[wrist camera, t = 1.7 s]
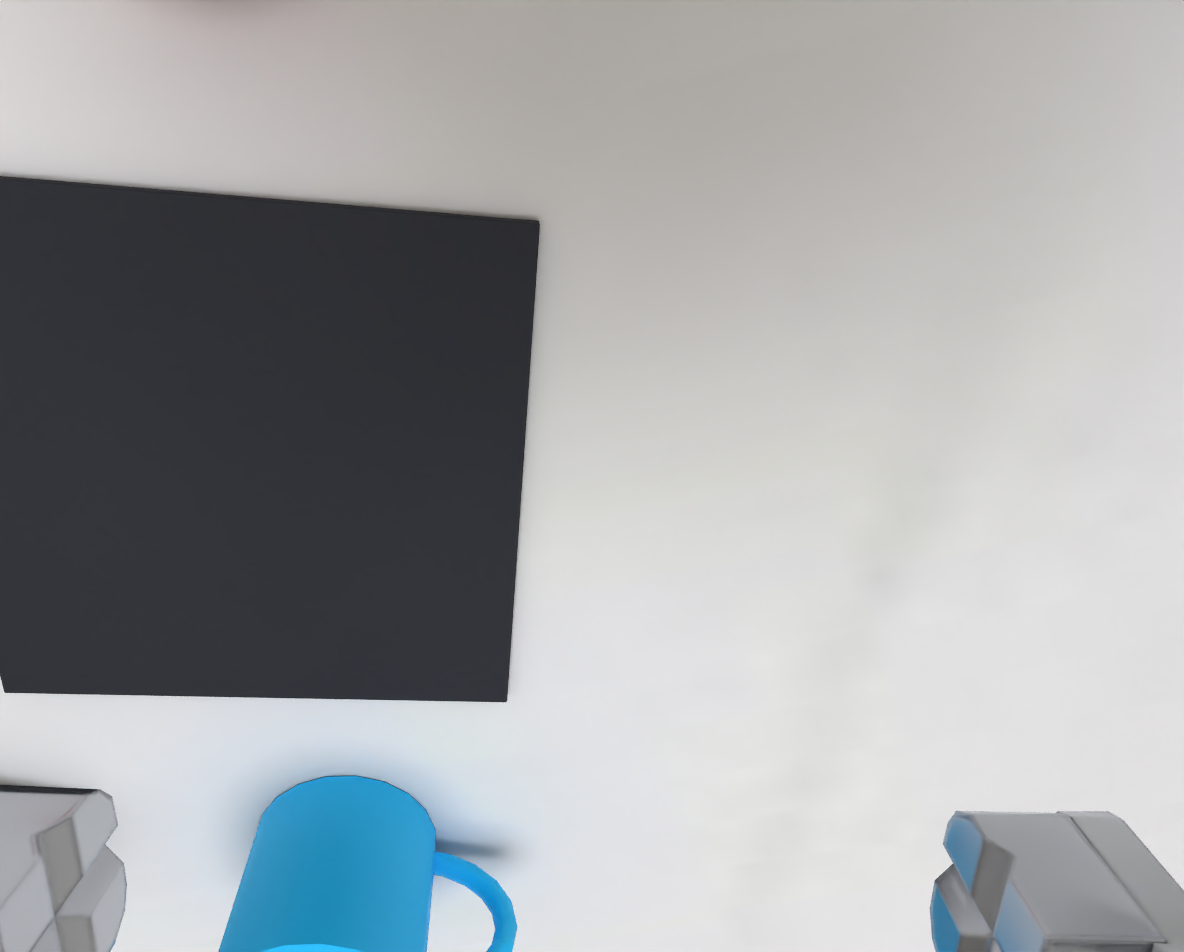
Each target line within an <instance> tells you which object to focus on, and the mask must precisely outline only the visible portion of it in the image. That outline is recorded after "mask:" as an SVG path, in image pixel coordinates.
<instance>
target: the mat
mask: <svg viewBox="0 0 1184 952" xmlns="http://www.w3.org/2000/svg"><path fill="white" fill-rule="evenodd" d="M539 228H540V224H539V221H532V220H520V219H508V218H496V217H484V216H472V215H460V214H448V213H435V212H423V211H411V210H399V209H387V208H375V207H363V206H351V205H339V204H327V203H315V202H303V201H291V200H279V199H267V198H255V197H243V196H231V195H219V194H207V193H195V192H183V191H171V190H159V189H147V188H135V187H123V186H111V185H99V184H87V183H75V182H63V181H51V180H39V179H27V178H15V177H3V176H0V676H1V680H2V684H3V688H4V692H5V693H48V694H101V695H154V696H207V697H260V698H313V699H366V700H418V701H471V702H506V701H507V693H508V678H509V664H510V649H511V635H512V620H513V605H514V591H515V576H516V562H517V547H518V533H519V518H520V504H521V489H522V475H523V460H524V446H525V431H526V417H527V402H528V388H529V373H530V359H531V344H532V330H533V315H534V301H535V286H536V272H537V257H538V243H539Z"/></svg>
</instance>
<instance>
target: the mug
mask: <svg viewBox="0 0 1184 952" xmlns="http://www.w3.org/2000/svg"><path fill="white" fill-rule="evenodd" d="M433 875H439V876H443V877H446V878H448V879H450V880H453V881H455V882H457V883H460V884H462V885H465V886H466V887H467V888H469V889H470V890H471V891H473V892H474V893H475V894H476V895H478V896H479V897H480V898H482V900H483V901H484V903H485V904H486V906H487V907H488V909H489V910H490V912H491V913H492V916H493V921H494V925H495V933H494V937H493V941H492V945H491V946H490V947H489V949H488V950H487V951H486V952H512V949H513V945H514V940H515V936H516V931H517V924H516V919H515V915H514V910H513V906H512V902H511V900H510V899H509V898H508V896H507V895H506V893H505V892H504V890H503V889H502V888H501V886H500V885H499V883H498V882H497V881H496V880H495V879H494V878H492V877H491V876H490V875H488V874H487V873H486V872H484V871H483V870H482V869H480V868H479V867H478V866H476V865H475V864H472V863H470V862H467V861H465V860H463V859H460V858H458V857H455V856H453V855H451V854H447V853H441V852H436V840H435V827H434V825H433V823H432V822H431V820H430V818H429V816H428V814H427V812H426V810H425V809H424V808H423V807H422V806H421V805H420V804H419V803H418V802H417V801H416V800H414V799H413V798H412V797H411V796H410V795H409V794H408V793H406V792H404V791H402V790H400V789H398V788H396V787H393V786H391V785H389V784H387V783H385V782H382V781H378V780H373V779H368V778H363V777H358V776H335V777H323V778H320V779H316V780H312V781H309V782H305V783H301V784H298V785H297V786H295V787H293V788H291V789H290V790H288V791H286V792H285V793H283V794H281V795H280V796H278V797H277V798H276V799H275V800H274V801H273V802H272V804H271V805H270V806H269V807H268V808H267V809H266V811H265V812H264V813H263V814H262V817H261V820H260V823H259V826H258V829H257V832H256V835H255V839H254V842H253V845H252V848H251V851H250V854H249V857H248V861H247V864H246V867H245V870H244V873H243V876H242V879H241V883H240V886H239V889H238V892H237V895H236V898H235V901H234V905H233V908H232V911H231V914H230V917H229V920H228V923H227V927H226V930H225V933H224V936H223V939H222V942H221V945H220V949H219V952H426V951H427V940H428V929H429V918H430V907H431V896H432V885H433Z"/></svg>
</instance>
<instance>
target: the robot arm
mask: <svg viewBox="0 0 1184 952" xmlns="http://www.w3.org/2000/svg"><path fill="white" fill-rule="evenodd" d="M117 826H118V824H117V819H116V814H115V809H114V804H113V799H112V796H110V795H109V794H107V793H105V792H104V791H102V790H98V789H77V788H56V787H35V786H14V785H0V952H110V951H111V949H112V947H113V946H114V944H115V941H116V938H117V934H118V931H119V928H120V924H121V921H122V918H123V915H124V911H125V902H126V887H127V883H126V876H125V868H124V863H123V862H122V861H121V860H120V859H119V858H118V857H117V856H116V855H115V854H114V853H113V852H112V851H111V850H110V849H109V848H108V847H107V846H106V845H105V843H106V842H107V840H108V839H109V837H110V836H111V834H112V833H113V831H114V830H115V828H116V827H117ZM943 845H944V847H945V849H946V851H947V853H948V854H949V856H950V858H951V860H952V862H953V864H952V865H951V866H950V867H949V868H948V869H947V870H946V871H945V872H943V873H942V874H941V875H940V876H939V877H938V878H937V879H936V880H935V882H934V888H933V894H932V899H931V905H930V916H931V929H932V939H933V943H934V947H935V950H936V952H1184V890H1183V889H1182V888H1181V887H1180V886H1179V885H1178V883H1177V882H1176V881H1175V880H1174V879H1173V878H1172V876H1171V875H1170V874H1169V873H1168V872H1167V871H1166V869H1165V868H1164V867H1163V866H1162V865H1161V864H1160V862H1159V861H1158V860H1157V859H1156V858H1155V857H1154V855H1153V854H1152V853H1151V852H1150V851H1149V850H1148V848H1147V847H1146V846H1145V845H1144V844H1143V843H1142V841H1141V840H1140V839H1139V838H1138V837H1137V836H1136V834H1135V833H1134V832H1133V831H1132V830H1131V828H1130V827H1129V826H1128V825H1127V824H1126V823H1125V821H1124V820H1122V819H1121V818H1119V817H1117V816H1116V815H1114V814H1112V813H1110V812H1108V811H1058V812H1056V813H1040V812H985V811H956V812H955V813H954V815H953V816H952V818H951V819H950V821H949V822H948V825H947V829H946V833H945V837H944V842H943Z"/></svg>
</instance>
